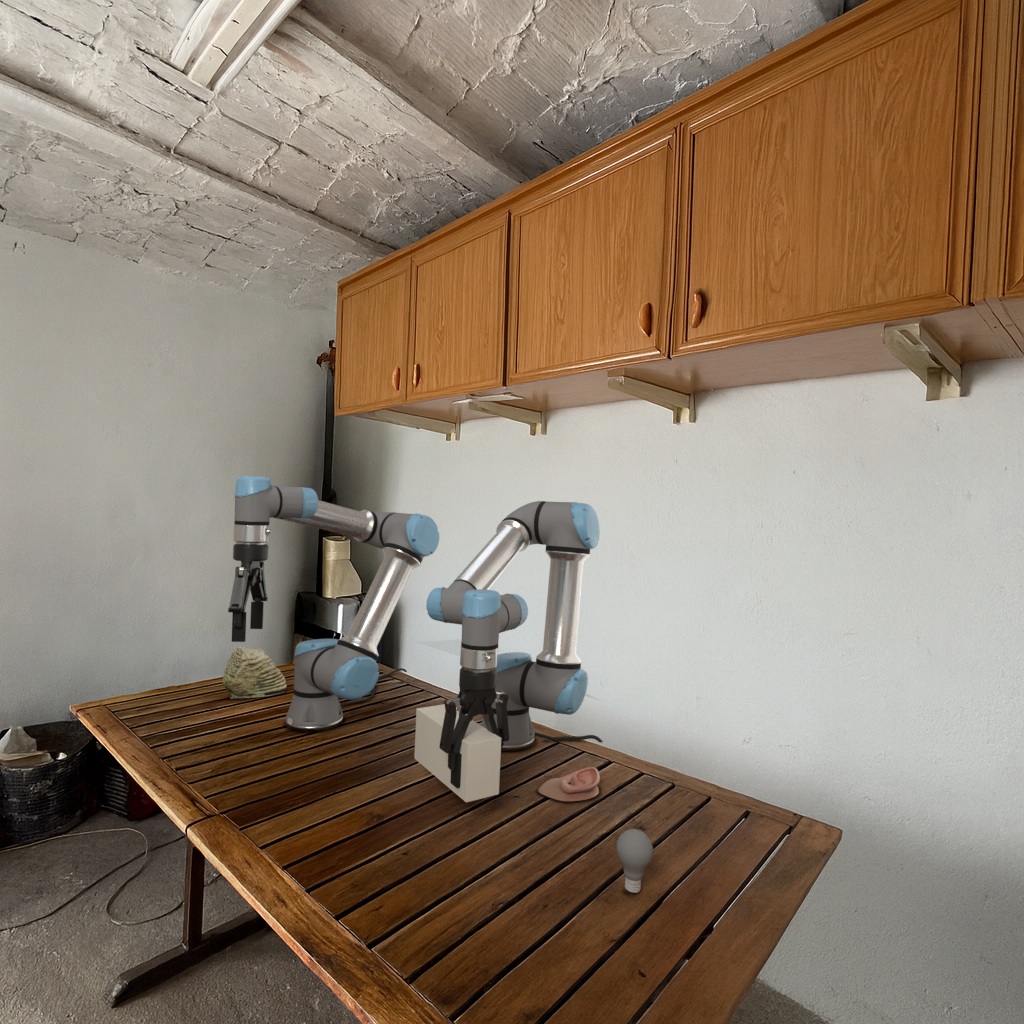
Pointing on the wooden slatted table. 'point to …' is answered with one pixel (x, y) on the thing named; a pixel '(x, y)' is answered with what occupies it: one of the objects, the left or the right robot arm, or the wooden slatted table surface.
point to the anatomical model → (573, 786)
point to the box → (476, 753)
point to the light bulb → (634, 857)
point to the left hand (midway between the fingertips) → (247, 635)
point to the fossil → (252, 674)
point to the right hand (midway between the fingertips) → (473, 780)
